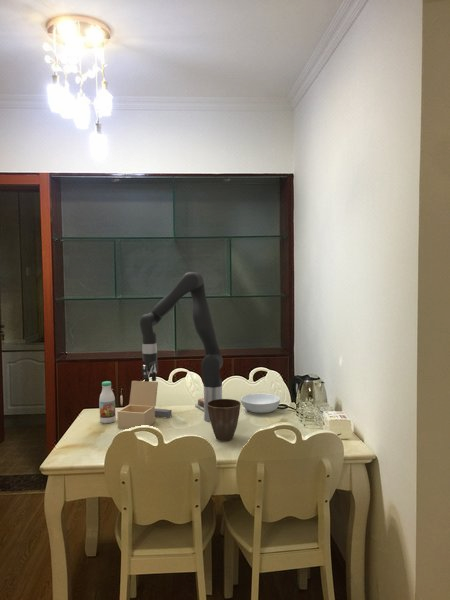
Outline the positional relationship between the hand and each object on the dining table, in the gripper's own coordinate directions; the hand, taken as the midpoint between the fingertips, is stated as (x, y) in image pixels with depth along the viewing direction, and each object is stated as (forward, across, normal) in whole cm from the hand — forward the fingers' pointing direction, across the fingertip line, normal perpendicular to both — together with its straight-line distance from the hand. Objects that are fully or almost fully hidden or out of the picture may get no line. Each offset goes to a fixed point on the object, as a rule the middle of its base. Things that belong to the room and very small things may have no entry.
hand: (150, 382), depth 252 cm
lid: (+3, -9, 0) cm, 10 cm away
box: (+17, -17, 0) cm, 24 cm away
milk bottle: (+17, -15, +17) cm, 28 cm away
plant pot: (+17, -25, -47) cm, 56 cm away
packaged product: (+18, +17, -27) cm, 36 cm away
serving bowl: (+17, +20, -54) cm, 60 cm away
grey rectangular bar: (+17, -1, -4) cm, 18 cm away
